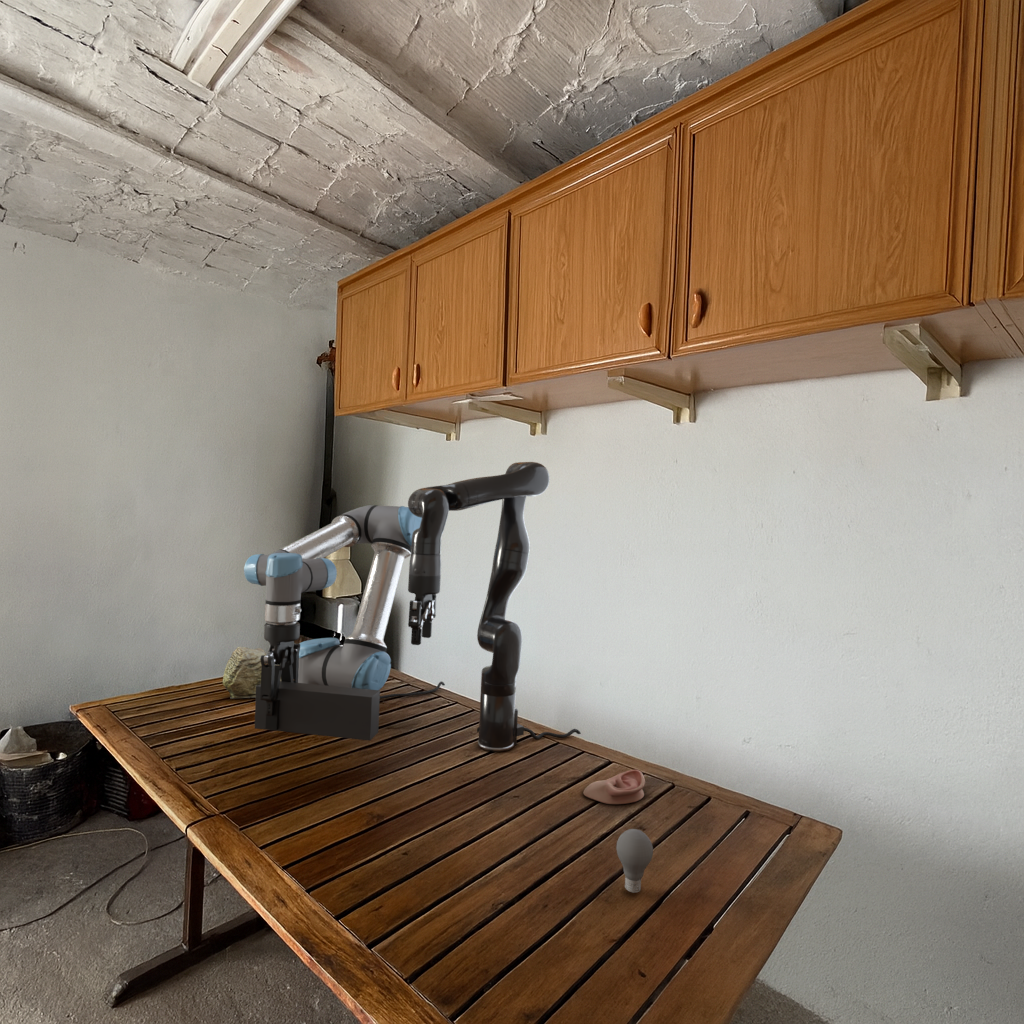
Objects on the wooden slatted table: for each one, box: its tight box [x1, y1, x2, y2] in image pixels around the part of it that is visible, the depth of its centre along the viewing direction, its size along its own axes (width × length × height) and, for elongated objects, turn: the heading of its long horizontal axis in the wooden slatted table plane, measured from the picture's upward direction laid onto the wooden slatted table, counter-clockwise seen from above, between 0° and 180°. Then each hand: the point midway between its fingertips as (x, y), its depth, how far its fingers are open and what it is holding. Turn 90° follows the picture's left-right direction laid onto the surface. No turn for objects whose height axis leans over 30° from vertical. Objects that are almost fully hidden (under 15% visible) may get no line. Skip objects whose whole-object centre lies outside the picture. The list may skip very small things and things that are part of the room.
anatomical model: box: [582, 769, 646, 805], centre depth 141 cm, size 13×4×12 cm
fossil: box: [222, 646, 281, 699], centre depth 198 cm, size 9×18×15 cm, turn 132°
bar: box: [254, 681, 381, 742], centre depth 142 cm, size 27×5×10 cm, turn 81°
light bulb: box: [615, 828, 654, 894], centre depth 106 cm, size 6×6×10 cm
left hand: (278, 724), depth 143 cm, fingers closed on bar, 5 cm apart
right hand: (421, 640), depth 150 cm, fingers open, 8 cm apart
